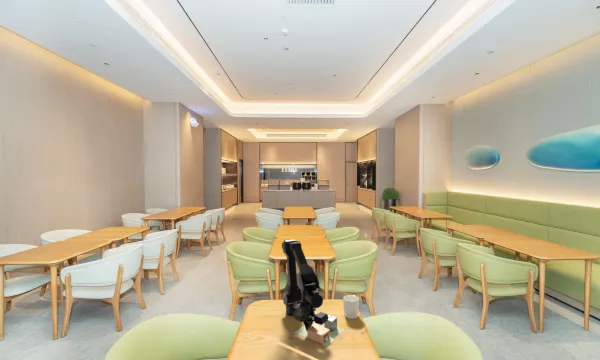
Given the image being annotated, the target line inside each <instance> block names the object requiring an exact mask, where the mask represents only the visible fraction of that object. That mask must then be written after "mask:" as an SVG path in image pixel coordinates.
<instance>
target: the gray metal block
mask: <svg viewBox="0 0 600 360" xmlns="http://www.w3.org/2000/svg"><path fill="white" fill-rule="evenodd" d="M327 315H328V320H327V321H326V322H325V323H324V328H327V329H330V331H331V332H333V331H334V330H335V329H336V328H337V327H338V317H336V316H334V315H330V314H327Z"/></svg>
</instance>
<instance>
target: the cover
mask: <svg viewBox="0 0 600 360" xmlns="http://www.w3.org/2000/svg"><path fill="white" fill-rule="evenodd" d="M307 333H308V338H310V339H309V340H311V339H312V340H311V341H313V340H315V341H317V342H316V343H318V342H320V343H322V344H321V345H323V343H324V336H327V337H328V338H329V337H330V329H327V328H324V327H322V326H319V325H316V324H314V325H313V326H312V327H310V328H309V329H308V330H307ZM308 338H307V339H308ZM315 341H314V342H315ZM320 343H319V344H320Z"/></svg>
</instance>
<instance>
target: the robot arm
mask: <svg viewBox="0 0 600 360" xmlns="http://www.w3.org/2000/svg"><path fill="white" fill-rule="evenodd" d="M281 248H282V249H281V250H282V252H283V254H284V256H285V257H286V265H287V266H286V267H287V284H288V285H287V287H286V289H285V294H284V296H283V298H282V300H283V304H284V305H285V313H286V314H287V316H289V317H290V316H292V317H293V318H294V321H298V322H300V323H302V322H303V326H304V325H305V328H306V331H307V330H308V329H309V328H310V327H311V326H312V324H313V322H315V323H317V324H319V325H322V324H324V323H325V322H326V321H327V320H328V315H329V314H327V313H325V312H322V311H320V312H318V313H317V312H316V310H317V309H318V308H321V306H322V305H323V302H324V299H323V296H322V295H321V294H320V292H319V291H318V289H320V281H319V279H318V276H317V273H316V272H315V270H314V268H313V267H312V266H310V265H309V263H308V260H307V259H306V256H305V253H304V250H303V249H302V243H301V241H299V240H296V238H294V239H293V238H292V239H285V240H283V242H282V243H281ZM297 268H298V270H299V271H298V274H297ZM298 281H299V284H300V287H301V288H300V287H299V285H298Z"/></svg>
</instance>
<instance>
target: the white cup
mask: <svg viewBox="0 0 600 360" xmlns="http://www.w3.org/2000/svg"><path fill="white" fill-rule="evenodd" d="M342 299H343V300H342V301H343V302H342V303H343V313H344V317H345V318H347V319H351V320H352V319H357V318H358V315H359V314H358V313H359V303H360V302H359V301H360V299H359V297H358V296H357V295H354V294H346V295H344V296H343V297H342Z"/></svg>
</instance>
